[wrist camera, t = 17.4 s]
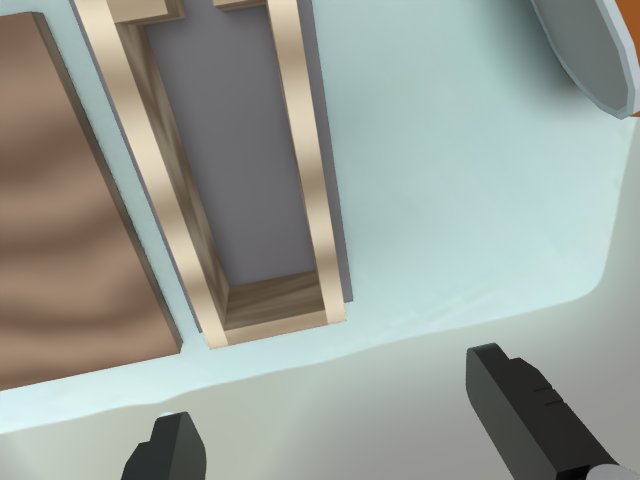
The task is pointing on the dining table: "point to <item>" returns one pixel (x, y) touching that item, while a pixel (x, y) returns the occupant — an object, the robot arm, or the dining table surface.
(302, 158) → the wooden open box
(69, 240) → the post stand
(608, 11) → the orange round jug
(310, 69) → the rubber mat
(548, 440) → the robot arm
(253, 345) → the dining table surface
